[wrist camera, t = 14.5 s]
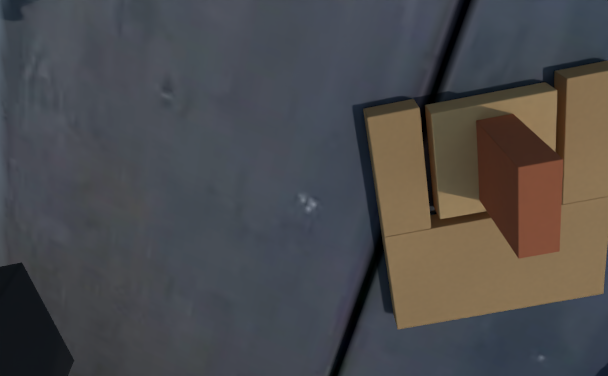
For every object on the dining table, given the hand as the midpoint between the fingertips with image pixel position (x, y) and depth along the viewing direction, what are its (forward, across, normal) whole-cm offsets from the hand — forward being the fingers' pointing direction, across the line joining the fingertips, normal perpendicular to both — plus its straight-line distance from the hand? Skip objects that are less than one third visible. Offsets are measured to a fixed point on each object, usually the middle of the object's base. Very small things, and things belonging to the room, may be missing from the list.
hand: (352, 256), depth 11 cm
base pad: (+25, +11, -16) cm, 31 cm away
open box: (+25, +11, -11) cm, 29 cm away
